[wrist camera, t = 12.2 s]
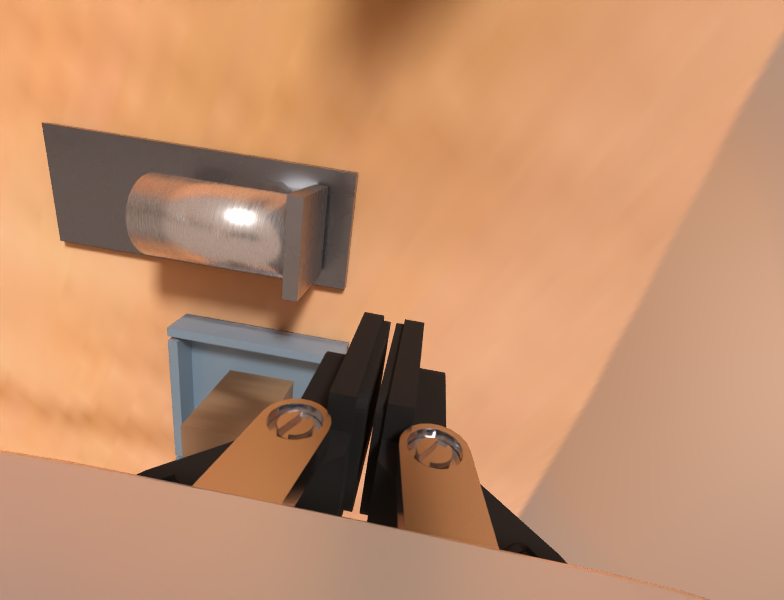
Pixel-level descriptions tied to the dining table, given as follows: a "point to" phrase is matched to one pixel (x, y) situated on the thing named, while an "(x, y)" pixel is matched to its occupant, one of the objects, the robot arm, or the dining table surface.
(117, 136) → the rail
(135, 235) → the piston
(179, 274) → the dining table surface
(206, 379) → the tray
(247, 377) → the block
